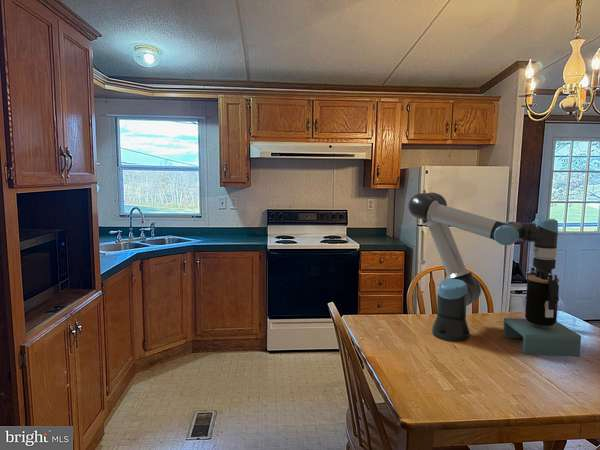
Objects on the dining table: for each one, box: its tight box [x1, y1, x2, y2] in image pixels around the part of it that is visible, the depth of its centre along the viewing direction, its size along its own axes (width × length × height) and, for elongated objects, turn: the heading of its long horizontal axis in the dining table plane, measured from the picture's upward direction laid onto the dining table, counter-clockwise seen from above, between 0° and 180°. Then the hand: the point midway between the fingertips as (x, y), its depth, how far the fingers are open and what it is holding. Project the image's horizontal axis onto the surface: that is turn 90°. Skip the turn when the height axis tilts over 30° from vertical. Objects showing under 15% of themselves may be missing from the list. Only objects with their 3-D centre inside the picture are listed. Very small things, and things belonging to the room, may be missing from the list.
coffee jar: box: [524, 274, 560, 326], centre depth 151 cm, size 11×11×18 cm
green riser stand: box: [502, 317, 582, 357], centre depth 153 cm, size 20×18×8 cm
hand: (540, 312), depth 152 cm, fingers closed on coffee jar, 11 cm apart
